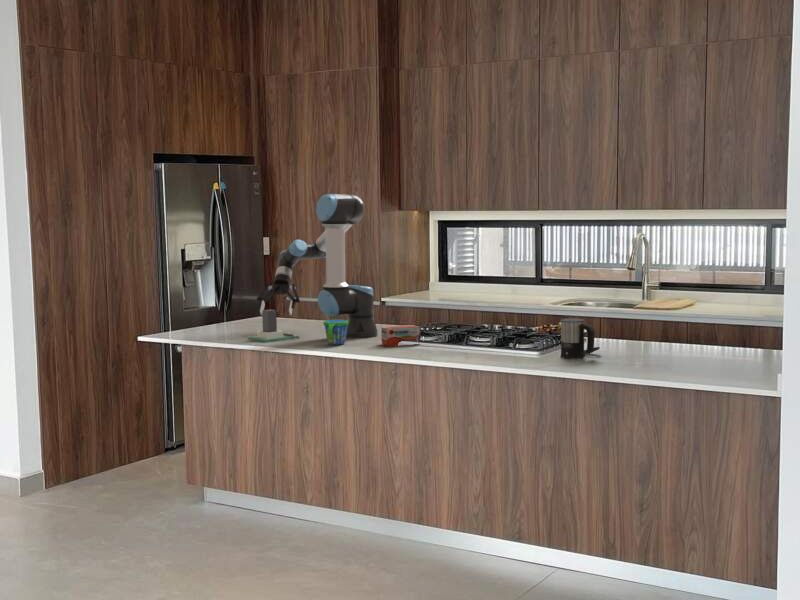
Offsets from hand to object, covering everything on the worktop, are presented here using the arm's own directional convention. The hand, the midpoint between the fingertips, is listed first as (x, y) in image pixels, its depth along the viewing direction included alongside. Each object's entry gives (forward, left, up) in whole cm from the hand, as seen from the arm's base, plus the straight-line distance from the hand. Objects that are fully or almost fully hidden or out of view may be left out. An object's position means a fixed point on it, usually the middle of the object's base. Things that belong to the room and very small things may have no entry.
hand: (275, 313), depth 442 cm
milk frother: (-134, -51, -11) cm, 144 cm away
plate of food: (-88, -98, -11) cm, 132 cm away
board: (-6, +6, -11) cm, 14 cm away
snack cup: (-39, -4, -11) cm, 41 cm away
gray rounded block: (-6, +8, -9) cm, 14 cm away
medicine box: (-61, -23, -11) cm, 66 cm away
